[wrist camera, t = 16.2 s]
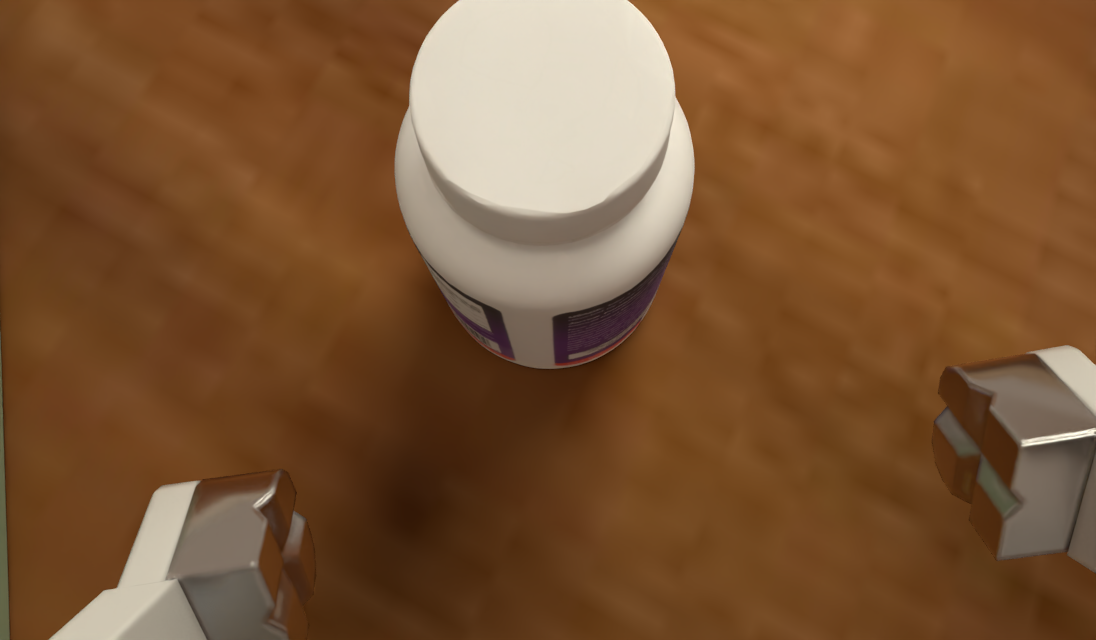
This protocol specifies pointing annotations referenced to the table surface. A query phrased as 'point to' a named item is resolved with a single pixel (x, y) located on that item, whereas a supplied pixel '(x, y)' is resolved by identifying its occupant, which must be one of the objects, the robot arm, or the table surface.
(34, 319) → the table surface
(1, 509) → the cabinet
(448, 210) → the pill bottle
